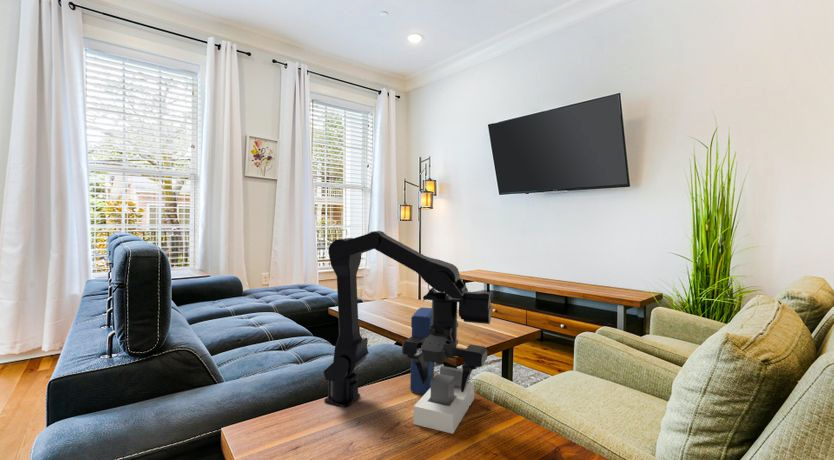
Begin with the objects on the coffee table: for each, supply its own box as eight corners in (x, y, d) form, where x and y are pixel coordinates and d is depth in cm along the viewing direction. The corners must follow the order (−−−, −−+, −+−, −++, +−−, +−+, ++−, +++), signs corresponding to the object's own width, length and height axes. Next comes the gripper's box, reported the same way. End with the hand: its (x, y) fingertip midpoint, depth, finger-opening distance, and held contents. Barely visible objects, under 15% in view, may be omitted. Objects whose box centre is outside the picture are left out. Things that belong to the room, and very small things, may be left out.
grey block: (439, 383, 96) (440, 367, 96) (447, 375, 101) (447, 359, 101) (463, 388, 94) (463, 371, 93) (469, 379, 99) (470, 363, 98)
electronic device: (429, 394, 99) (430, 317, 98) (409, 392, 100) (410, 315, 99) (434, 379, 109) (436, 308, 108) (416, 377, 110) (417, 307, 109)
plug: (436, 405, 92) (437, 373, 91) (453, 409, 90) (454, 377, 90) (430, 413, 88) (430, 380, 87) (447, 418, 86) (448, 384, 86)
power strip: (413, 424, 85) (413, 406, 85) (440, 391, 101) (440, 376, 101) (452, 433, 82) (453, 415, 82) (474, 398, 97) (474, 383, 97)
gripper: (391, 323, 84) (390, 394, 85) (475, 335, 77) (474, 412, 78) (412, 312, 95) (411, 375, 95) (488, 321, 87) (487, 389, 88)
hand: (443, 387), depth 89 cm, fingers open, 9 cm apart
